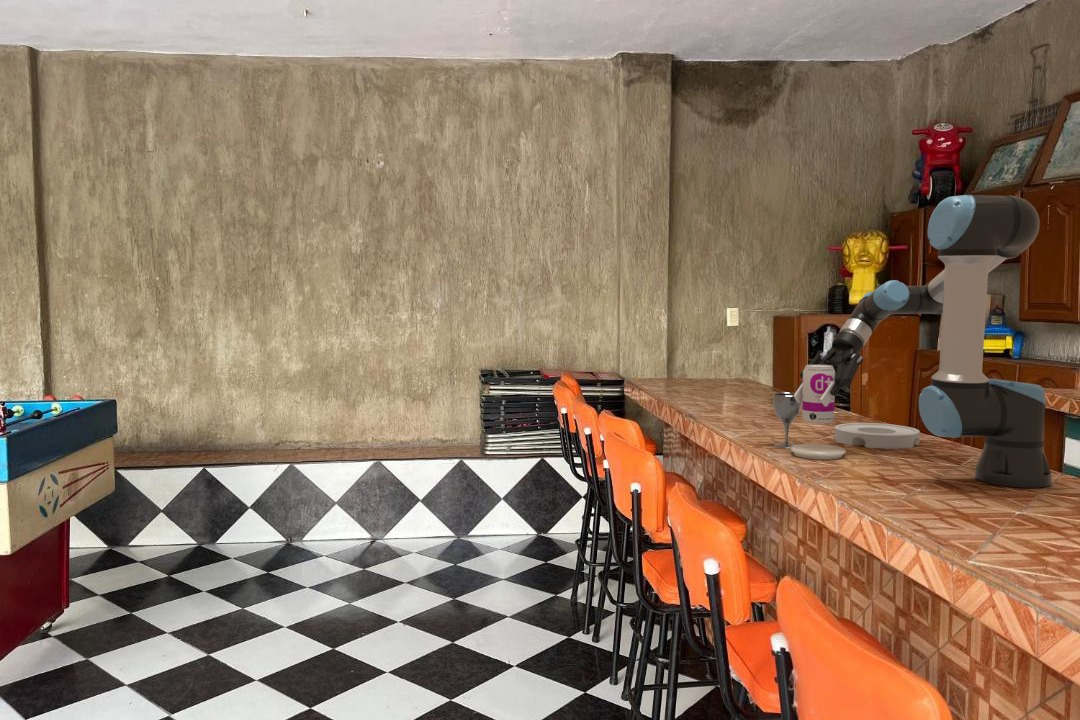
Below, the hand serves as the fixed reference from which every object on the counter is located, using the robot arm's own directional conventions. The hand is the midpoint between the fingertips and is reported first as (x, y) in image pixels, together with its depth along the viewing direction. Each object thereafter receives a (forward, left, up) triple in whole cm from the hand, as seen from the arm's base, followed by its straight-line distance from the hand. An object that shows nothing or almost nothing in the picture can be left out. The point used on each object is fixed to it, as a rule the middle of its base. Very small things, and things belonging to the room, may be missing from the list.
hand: (809, 401), depth 212 cm
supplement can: (+2, -3, -6) cm, 7 cm away
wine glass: (+15, +2, -15) cm, 21 cm away
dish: (+2, -3, -15) cm, 15 cm away
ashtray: (+24, -26, -15) cm, 38 cm away
